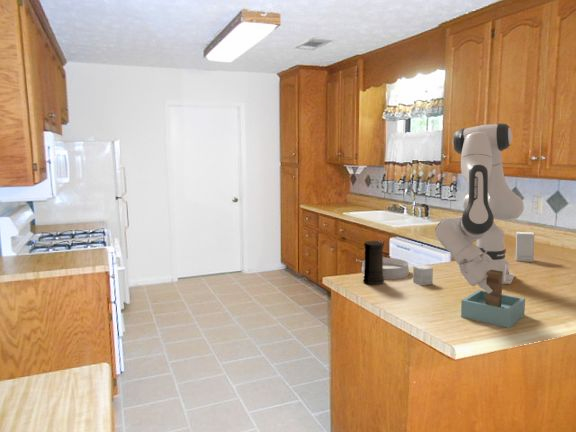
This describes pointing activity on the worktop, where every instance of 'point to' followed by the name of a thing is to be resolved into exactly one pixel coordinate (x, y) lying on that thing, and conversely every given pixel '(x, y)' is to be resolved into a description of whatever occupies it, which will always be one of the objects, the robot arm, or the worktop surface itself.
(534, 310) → the worktop surface
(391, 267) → the dish
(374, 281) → the container
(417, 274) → the skincare box
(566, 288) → the worktop surface
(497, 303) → the peg
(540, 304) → the worktop surface
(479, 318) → the socket
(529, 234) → the skincare box
